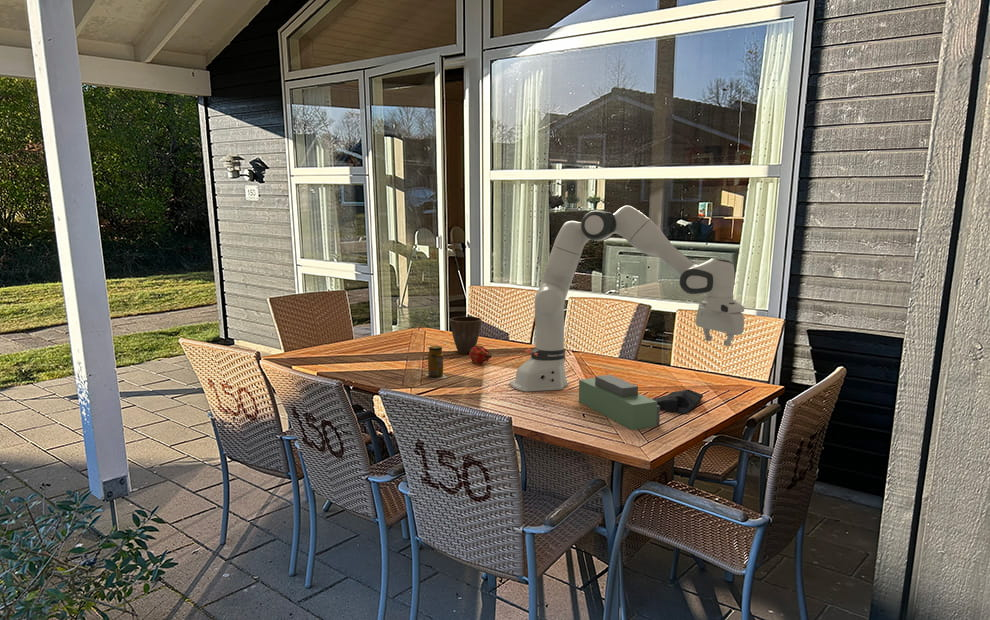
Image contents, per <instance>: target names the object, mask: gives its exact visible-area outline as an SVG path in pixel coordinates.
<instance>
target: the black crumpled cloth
mask: <svg viewBox="0 0 990 620" xmlns="http://www.w3.org/2000/svg"><path fill="white" fill-rule="evenodd" d="M703 397H704V395H703V394H702V393H700V392H697V391H693V390H691V389H683V390H675V391H671V392H670V393H668V394H666V395H661V396H659V397H656V398H654V399H652V400H655V401H657V405H659V406H660V412H661V411H662V412H666V413H672V414H681V415H687V414H688V413H689V412H690V411H692V410H693V409H694V408H695V406H696V405H698V403H700V401H701V400H702V399H703Z"/></svg>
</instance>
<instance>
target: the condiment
mask: <svg viewBox="0 0 990 620" xmlns="http://www.w3.org/2000/svg"><path fill="white" fill-rule="evenodd" d="M427 369H428V370H427V371H428V373H425V374H424V375H425V376H426V377H427V378H428V379H430V380H440V379H441V380H442V379H448V377H447V376H446V375H445V374H444V354H443V347H442V346H441V345H440V346H439V345H433V346H429V348H428V354H427Z"/></svg>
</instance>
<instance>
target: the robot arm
mask: <svg viewBox="0 0 990 620" xmlns="http://www.w3.org/2000/svg"><path fill="white" fill-rule="evenodd" d="M614 234H616V235H619V236H620V237H622V238H623V239H624V240H625V241H626V242H627V243H628V244H629V245H631V246H632V247H634V248H635V249H636V250H638V251H639V252H641V253H642V254H645V255H649V256H653V257H655V258H657V259H660V260H661V261H663V262H665V263H666V264H667V265H668V266H669V267H671V269H673V270H674V271H675V272H676V273H678V274H679V276H680V277H679V286H680V288H681V289H682V291H684V292H685V293H687V294H689V295H693V296H694V295H699V294H704V293H705V294H706V301H701V302H700V303H699V304H698V308H697V311H696V317H695V325H696V327H699V328H702V332H703V334H704V340H705V341H706V342H712V340H713V339H712V338H713V336H712V335H711V332H710V331H716V332H720V333H723V334H724V333H725V334H726V337H727V338H726V339H725V340H723V346H725V347H730V346H732V340H733V339H734V337H735V336H739V335H742V334H743V333H744V329H745V316H744V314H743V313H744V311H745V306H744V305H743V304H741V303H739V302H738V301H737V300H735V299H734V290H733V289H734V286H735V266H734V263H733V262H732V261H731V260H729V259H725V258H721V257H711V258H710V259H708V260H707V261H704V262H703V263H697V262H695V261H692V260H691V259H689V257H687V256H686V255H685V254H684V253H683V252H682V251H680V250H679V249H677V248H676V247H675V246H674V245H673V244H672V243H671V241H670V240H669V238H667V236H666V235H665V234H664V232H663V231H662V230H661V229H660V228H659V227H658V226H657V224H655V223H654V222H653V221H652V220H651V219H650V218H649V217H648V216H646V215H645V214H644V213H643V212H641V211H640V210H638V209H636V208H635V207H633V206H631V205H624V206H622V207H620V208H619V209H617V210H616V211H615V212H614V213H612V212H610V211H605V210H598V209H596V210H591V211H589V212H587V213H585V215H584V216H583V218H582V220H581V221H578V220H577V221H576V220H569V221H566V222H564V223H563V225H562V226H561V228H560V230H559V232H558V233H557V235H556V238H555V239H554V243H553V246H552V249H551V251H550V254H549V257H548V260H547V262H546V264H545V265H546V266H545V269H544V273H543V275H542V278H541V281H540V284H539V286H538V287H539V288H538V290H537V292H536V293H535V296H534V323H535V334H534V335H535V338H534V340H535V343H534V344H535V345H534V347H533V349H532V348H526V350H525V351H526V353H527V354H528V355H530V358H529V359H527V360H526V361H525V362H524V363H523V364H522V365H520V366H519V367H518V368H517V369H516V372H515V373H516V374H515V377H514V378H515V379H512V380H509V385H510V387H512V388H513V389H516V390H517V391H520V392H521V391H522V392H524V393H525V392H541V391H555V390H556V391H559V390H560V391H561V390H563V389H564V388H565V387H566V386H568V381H567V380H568V379H567V375H566V370H565V369H566V367H565V361H566V360H565V359H566V348H565V303H566V302H565V300H566V298H567V297H568V292H569V290H570V286H571V285H572V281H573V279H574V277H575V274H576V270H577V268H578V265H579V262H580V260H581V257H582V254H583V250H584V248H585V246H586V244H587V243H588V242H590V241H596V242H602V241H605V240H606V241H607V240H609V239H611V238H612V237H613V236H614Z"/></svg>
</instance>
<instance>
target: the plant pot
mask: <svg viewBox="0 0 990 620" xmlns="http://www.w3.org/2000/svg"><path fill="white" fill-rule="evenodd" d="M482 322H483V321H482V318H481V317H478V316H455V317H451V318H449V323H450V328H451V335H452V338H453V342H454V345H455V348H456V351H457V352H459V354H462V353H464V355H465V354H466V355H468V354H467V353H469V352H470V350H471V349H472V348H473V347H474V346H476V345H478V344H477V343H478V340H479V337H480V332H481V328H482V327H481V326H482Z"/></svg>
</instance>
